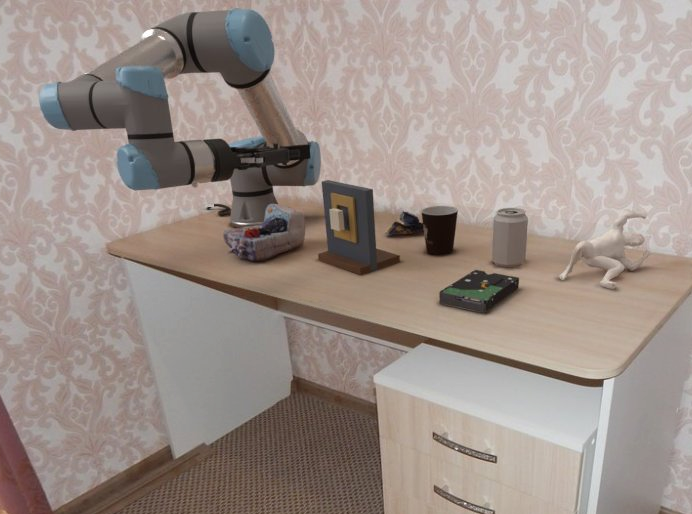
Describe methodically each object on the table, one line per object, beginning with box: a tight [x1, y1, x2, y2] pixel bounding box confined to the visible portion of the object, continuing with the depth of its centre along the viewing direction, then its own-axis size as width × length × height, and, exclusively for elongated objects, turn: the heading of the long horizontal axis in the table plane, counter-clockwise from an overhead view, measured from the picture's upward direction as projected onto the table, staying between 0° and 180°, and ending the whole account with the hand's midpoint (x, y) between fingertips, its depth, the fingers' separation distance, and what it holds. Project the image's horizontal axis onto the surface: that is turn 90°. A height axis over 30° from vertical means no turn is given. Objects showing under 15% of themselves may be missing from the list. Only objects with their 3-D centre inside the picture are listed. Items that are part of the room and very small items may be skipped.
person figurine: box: [559, 210, 652, 290], centre depth 131 cm, size 13×13×18 cm
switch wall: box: [317, 179, 401, 276], centre depth 144 cm, size 12×16×18 cm
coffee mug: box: [420, 205, 459, 257], centre depth 150 cm, size 12×9×10 cm
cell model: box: [222, 203, 306, 262], centre depth 155 cm, size 13×11×20 cm
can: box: [491, 207, 529, 268], centre depth 139 cm, size 8×8×12 cm
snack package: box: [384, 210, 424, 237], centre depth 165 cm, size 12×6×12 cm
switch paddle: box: [329, 208, 344, 231], centre depth 140 cm, size 1×3×4 cm, turn 42°
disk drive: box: [438, 269, 520, 313], centre depth 124 cm, size 10×3×15 cm
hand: (307, 151), depth 130 cm, fingers closed
